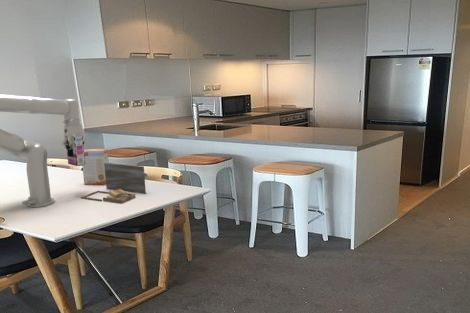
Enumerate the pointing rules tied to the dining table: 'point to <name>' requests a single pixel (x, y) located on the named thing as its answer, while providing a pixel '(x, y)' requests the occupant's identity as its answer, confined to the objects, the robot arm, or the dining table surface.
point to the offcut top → (117, 193)
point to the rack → (122, 181)
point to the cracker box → (95, 166)
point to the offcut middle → (117, 198)
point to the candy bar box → (77, 151)
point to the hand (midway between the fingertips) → (75, 155)
